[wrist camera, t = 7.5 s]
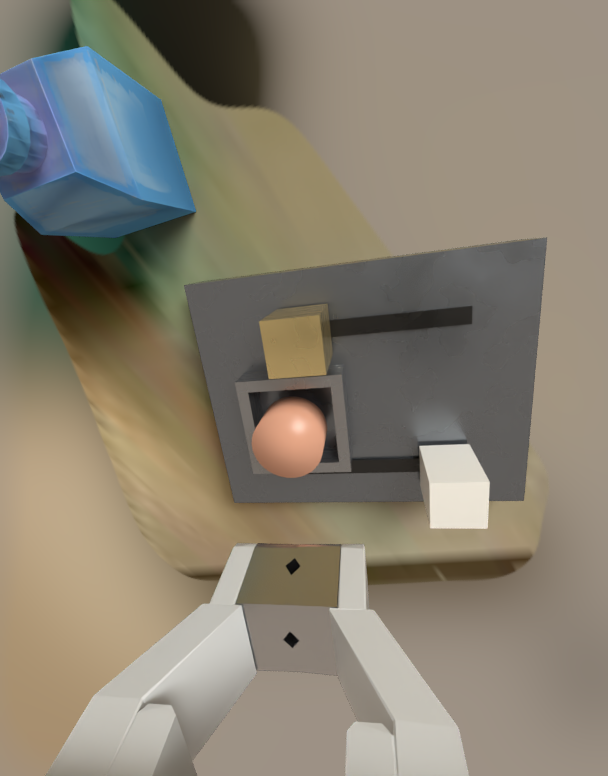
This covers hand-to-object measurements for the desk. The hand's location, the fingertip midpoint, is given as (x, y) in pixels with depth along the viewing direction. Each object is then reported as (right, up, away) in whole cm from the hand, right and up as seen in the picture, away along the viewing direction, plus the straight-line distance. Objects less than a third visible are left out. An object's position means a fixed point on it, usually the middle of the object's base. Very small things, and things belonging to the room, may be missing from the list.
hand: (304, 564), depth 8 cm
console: (+4, +5, +17) cm, 18 cm away
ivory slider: (+9, -1, +15) cm, 17 cm away
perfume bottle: (-11, +18, +15) cm, 26 cm away
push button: (-1, +2, +14) cm, 14 cm away
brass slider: (0, +7, +13) cm, 15 cm away
